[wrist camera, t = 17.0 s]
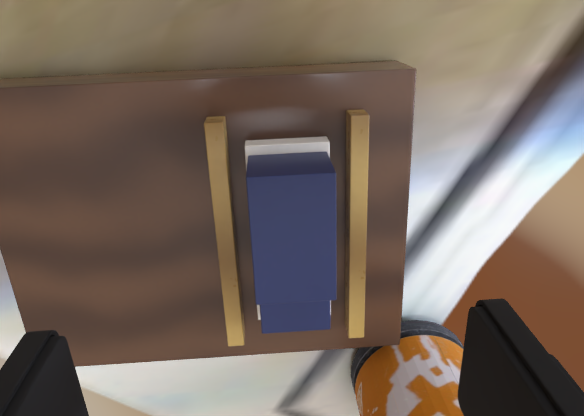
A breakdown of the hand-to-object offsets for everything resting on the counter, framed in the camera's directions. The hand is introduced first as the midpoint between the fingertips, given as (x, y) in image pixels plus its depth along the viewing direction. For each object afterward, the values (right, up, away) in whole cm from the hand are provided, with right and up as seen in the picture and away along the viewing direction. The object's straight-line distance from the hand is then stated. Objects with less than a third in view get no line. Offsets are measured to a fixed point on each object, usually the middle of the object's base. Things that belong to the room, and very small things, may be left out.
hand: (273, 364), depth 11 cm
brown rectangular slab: (-5, +4, +21) cm, 22 cm away
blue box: (0, +2, +17) cm, 18 cm away
